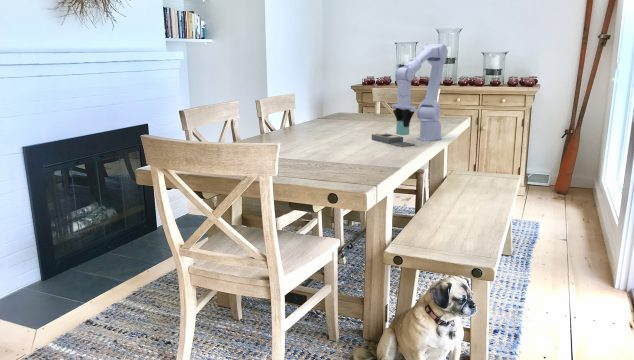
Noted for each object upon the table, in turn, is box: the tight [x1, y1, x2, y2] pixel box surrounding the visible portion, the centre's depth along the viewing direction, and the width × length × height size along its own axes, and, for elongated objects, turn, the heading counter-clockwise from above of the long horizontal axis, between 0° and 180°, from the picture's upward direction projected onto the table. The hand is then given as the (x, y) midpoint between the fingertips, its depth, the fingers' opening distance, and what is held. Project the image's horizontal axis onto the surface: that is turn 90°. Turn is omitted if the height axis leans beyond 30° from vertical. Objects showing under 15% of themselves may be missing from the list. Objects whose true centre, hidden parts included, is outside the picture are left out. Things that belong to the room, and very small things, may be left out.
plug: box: [395, 119, 410, 136], centre depth 234 cm, size 4×4×7 cm
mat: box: [389, 141, 416, 148], centre depth 236 cm, size 8×8×1 cm
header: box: [371, 132, 404, 145], centre depth 246 cm, size 8×14×3 cm, turn 28°
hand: (403, 126), depth 234 cm, fingers closed on plug, 4 cm apart
